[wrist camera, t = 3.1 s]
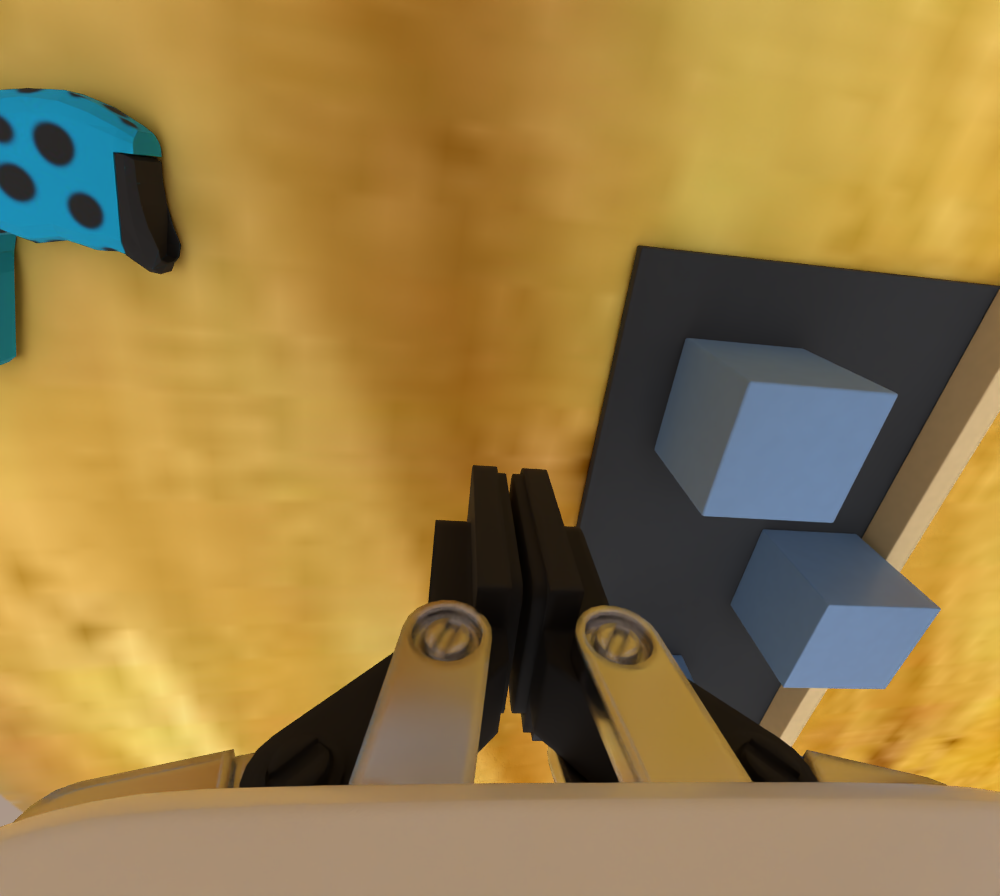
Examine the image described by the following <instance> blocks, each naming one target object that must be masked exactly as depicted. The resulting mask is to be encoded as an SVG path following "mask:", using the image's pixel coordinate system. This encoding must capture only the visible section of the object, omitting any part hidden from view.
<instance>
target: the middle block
mask: <svg viewBox="0 0 1000 896" xmlns="http://www.w3.org/2000/svg"><path fill="white" fill-rule="evenodd" d="M731 606H732V608H733V610H734V611H735V613H736V614H737V616H738V617H739V619H740V620H741V622H742V624H743V625H744V627H745V628H746V630H747V631H748V633H749V635H750V636H751V638H752V639H753V641H754V642H755V644H756V646H757V647H758V649H759V650H760V652H761V653H762V655H763V656H764V658H765V660H766V661H767V663H768V664H769V666H770V667H771V669H772V671H773V672H774V674H775V675H776V677H777V678H778V680H779V682H780V683H781V685H782V686H783V687H784V688H845V689H885V688H886V687H887V685H888V684H889V683H890V681H891V680H892V678H893V677H894V675H895V674H896V673H897V671H898V670H899V668H900V667H901V665H902V664H903V663H904V661H905V660H906V658H907V657H908V655H909V654H910V653H911V651H912V650H913V648H914V647H915V645H916V644H917V643H918V641H919V640H920V638H921V637H922V635H923V634H924V633H925V631H926V630H927V628H928V627H929V625H930V624H931V623H932V621H933V620H934V618H935V617H936V615H937V614H938V613H939V611H940V610H941V609H940V608H939V607H938V606H937V605H936V604H935V603H934V602H933V601H931V600H930V599H929V598H928V597H927V596H926V595H925V594H923V593H922V592H921V591H920V590H919V589H918V588H917V587H916V586H914V585H913V584H912V583H911V582H910V581H909V580H908V579H907V578H905V577H904V576H903V575H902V574H901V573H900V572H899V571H897V570H896V569H895V568H894V567H893V566H892V565H891V564H890V563H888V562H887V561H886V560H885V559H884V558H883V557H882V556H880V555H879V554H878V553H877V552H876V551H875V550H874V549H873V548H871V547H870V546H869V545H868V544H867V543H866V542H865V541H863V540H862V539H861V538H860V537H859V536H858V535H857V534H846V533H826V532H807V531H787V530H767V529H763V530H762V532H761V535H760V537H759V539H758V542H757V544H756V546H755V549H754V551H753V553H752V556H751V558H750V560H749V562H748V565H747V567H746V569H745V572H744V574H743V576H742V579H741V581H740V583H739V586H738V588H737V590H736V592H735V595H734V597H733V599H732V602H731Z"/></svg>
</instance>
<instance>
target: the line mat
mask: <svg viewBox="0 0 1000 896" xmlns="http://www.w3.org/2000/svg"><path fill="white" fill-rule="evenodd" d="M686 338H694V339H705V340H715V341H726V342H737V343H748V344H758V345H769V346H780V347H791V348H801V349H805V350H807V351H809V352H811V353H813V354H815V355H817V356H819V357H821V358H824V359H826V360H828V361H830V362H832V363H834V364H836V365H838V366H840V367H842V368H845V369H847V370H849V371H851V372H853V373H855V374H857V375H859V376H861V377H864V378H866V379H868V380H870V381H872V382H874V383H876V384H878V385H880V386H882V387H885V388H887V389H889V390H891V391H893V392H895V393H897V394H898V396H897V398H896V400H895V402H894V404H893V406H892V408H891V410H890V412H889V414H888V416H887V418H886V420H885V422H884V424H883V426H882V428H881V430H880V432H879V434H878V436H877V438H876V440H875V442H874V444H873V446H872V448H871V449H870V451H869V453H868V455H867V457H866V459H865V461H864V463H863V465H862V467H861V469H860V471H859V473H858V475H857V477H856V479H855V481H854V483H853V485H852V487H851V489H850V491H849V493H848V495H847V497H846V499H845V501H844V502H843V504H842V506H841V508H840V510H839V512H838V514H837V516H836V518H835V520H834V522H832V523H826V522H807V521H788V520H769V519H750V518H731V517H712V516H703V515H701V513H700V512H699V511H698V509H697V508H696V506H695V505H694V504H693V502H692V501H691V500H690V498H689V497H688V495H687V494H686V493H685V491H684V490H683V489H682V487H681V486H680V484H679V483H678V482H677V480H676V479H675V478H674V476H673V475H672V473H671V472H670V471H669V469H668V468H667V466H666V465H665V464H664V462H663V461H662V460H661V458H660V457H659V455H658V454H657V453H656V451H655V445H656V441H657V438H658V434H659V431H660V427H661V424H662V420H663V417H664V413H665V410H666V406H667V403H668V399H669V395H670V392H671V388H672V385H673V381H674V378H675V374H676V371H677V367H678V364H679V360H680V357H681V353H682V349H683V346H684V342H685V339H686ZM999 411H1000V286H995V285H986V284H977V283H968V282H960V281H951V280H942V279H933V278H924V277H915V276H906V275H897V274H888V273H880V272H871V271H862V270H853V269H844V268H835V267H826V266H817V265H808V264H800V263H791V262H782V261H773V260H764V259H755V258H746V257H737V256H729V255H720V254H711V253H702V252H693V251H684V250H675V249H666V248H657V247H649V246H640V245H639V246H638V247H637V251H636V256H635V260H634V265H633V270H632V274H631V279H630V283H629V288H628V292H627V297H626V302H625V306H624V311H623V315H622V320H621V324H620V329H619V334H618V338H617V343H616V347H615V352H614V356H613V361H612V366H611V370H610V375H609V379H608V384H607V388H606V393H605V398H604V402H603V407H602V411H601V416H600V420H599V425H598V430H597V434H596V439H595V443H594V448H593V452H592V457H591V462H590V466H589V471H588V475H587V480H586V485H585V489H584V494H583V498H582V503H581V507H580V512H579V517H578V521H577V526H576V527H579V528H581V530H582V532H583V534H584V537H585V539H586V542H587V545H588V548H589V550H590V553H591V556H592V559H593V561H594V564H595V567H596V570H597V572H598V575H599V578H600V581H601V584H602V586H603V589H604V592H605V595H606V597H607V600H608V603H609V606H617V607H621V608H625V609H628V610H630V611H632V612H634V613H636V614H638V615H640V616H641V617H642V618H644V619H645V620H646V621H648V622H649V623H650V624H651V625H652V626H653V628H654V629H655V630H656V631H657V632H658V634H659V635H660V637H661V639H662V640H663V642H664V643H665V645H666V646H667V648H668V650H669V651H670V653H671V654H672V655H681V656H682V657H683V659H684V662H685V664H686V666H687V668H688V670H689V672H690V674H691V677H692V679H693V681H694V683H695V684H697V685H698V686H700V687H701V688H703V689H704V690H706V691H707V692H709V693H711V694H712V695H714V696H715V697H717V698H718V699H720V700H721V701H723V702H725V703H726V704H728V705H729V706H731V707H732V708H734V709H735V710H737V711H738V712H740V713H742V714H743V715H745V716H746V717H748V718H749V719H751V720H752V721H754V722H756V723H757V724H759V725H760V726H762V727H763V728H765V729H766V730H768V731H769V732H771V733H773V734H774V735H776V736H777V737H779V738H780V739H781V740H783V741H784V742H785V743H787V744H788V745H789V746H790V747H792V745H793V744H794V742H795V740H796V739H797V737H798V736H799V734H800V732H801V731H802V729H803V727H804V726H805V724H806V723H807V721H808V719H809V718H810V716H811V715H812V713H813V711H814V710H815V708H816V706H817V705H818V703H819V702H820V700H821V698H822V697H823V695H824V694H825V692H826V690H827V689H828V688H784V687H783V686H782V685H781V683H780V682H779V680H778V678H777V677H776V675H775V674H774V672H773V671H772V669H771V667H770V666H769V664H768V663H767V661H766V660H765V658H764V656H763V655H762V653H761V652H760V650H759V649H758V647H757V646H756V644H755V642H754V641H753V639H752V638H751V636H750V635H749V633H748V631H747V630H746V628H745V627H744V625H743V624H742V622H741V620H740V619H739V617H738V616H737V614H736V613H735V611H734V610H733V608H732V606H731V602H732V599H733V597H734V595H735V592H736V590H737V588H738V586H739V583H740V581H741V579H742V576H743V574H744V572H745V569H746V567H747V565H748V562H749V560H750V558H751V556H752V553H753V551H754V549H755V546H756V544H757V542H758V539H759V537H760V535H761V532H762V530H763V529H767V530H787V531H807V532H826V533H846V534H857V535H858V536H859V537H860V538H861V539H862V540H863V541H865V542H866V543H867V544H868V545H869V546H870V547H871V548H873V549H874V550H875V551H876V552H877V553H878V554H879V555H880V556H882V557H883V558H884V559H885V560H886V561H887V562H888V563H890V564H891V565H892V566H893V567H894V568H895V569H896V570H897V571H899V572H900V571H901V569H902V568H903V566H904V565H905V563H906V561H907V560H908V558H909V556H910V555H911V553H912V552H913V550H914V548H915V547H916V545H917V544H918V542H919V540H920V539H921V537H922V535H923V534H924V532H925V531H926V529H927V527H928V526H929V524H930V523H931V521H932V519H933V518H934V516H935V514H936V513H937V511H938V510H939V508H940V506H941V505H942V503H943V502H944V500H945V498H946V497H947V495H948V494H949V492H950V490H951V489H952V487H953V485H954V484H955V482H956V481H957V479H958V477H959V476H960V474H961V473H962V471H963V469H964V468H965V466H966V464H967V463H968V461H969V460H970V458H971V456H972V455H973V453H974V452H975V450H976V448H977V447H978V445H979V443H980V442H981V440H982V439H983V437H984V435H985V434H986V432H987V431H988V429H989V427H990V426H991V424H992V423H993V421H994V419H995V418H996V416H997V414H998V413H999ZM531 735H532V741H542V740H541V739H540V738H539V737H538V736H536V735H535V734H534V733H531Z"/></svg>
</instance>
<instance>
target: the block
mask: <svg viewBox="0 0 1000 896" xmlns="http://www.w3.org/2000/svg"><path fill="white" fill-rule="evenodd" d="M897 396H898V394H897V393H895V392H893V391H891V390H889V389H887V388H885V387H882V386H880V385H878V384H876V383H874V382H872V381H870V380H868V379H866V378H864V377H861V376H859V375H857V374H855V373H853V372H851V371H849V370H847V369H845V368H842V367H840V366H838V365H836V364H834V363H832V362H830V361H828V360H826V359H824V358H821V357H819V356H817V355H815V354H813V353H811V352H809V351H807V350H805V349H801V348H791V347H780V346H769V345H758V344H748V343H737V342H726V341H715V340H705V339H694V338H686V339H685V342H684V346H683V349H682V353H681V357H680V360H679V364H678V367H677V371H676V374H675V378H674V381H673V385H672V388H671V392H670V395H669V399H668V403H667V406H666V410H665V413H664V417H663V420H662V424H661V427H660V431H659V434H658V438H657V441H656V445H655V451H656V453H657V454H658V455H659V457H660V458H661V460H662V461H663V462H664V464H665V465H666V466H667V468H668V469H669V471H670V472H671V473H672V475H673V476H674V478H675V479H676V480H677V482H678V483H679V484H680V486H681V487H682V489H683V490H684V491H685V493H686V494H687V495H688V497H689V498H690V500H691V501H692V502H693V504H694V505H695V506H696V508H697V509H698V511H699V512H700V513H701V515H703V516H712V517H731V518H750V519H769V520H788V521H807V522H826V523H832V522H834V520H835V518H836V516H837V514H838V512H839V510H840V508H841V506H842V504H843V502H844V501H845V499H846V497H847V495H848V493H849V491H850V489H851V487H852V485H853V483H854V481H855V479H856V477H857V475H858V473H859V471H860V469H861V467H862V465H863V463H864V461H865V459H866V457H867V455H868V453H869V451H870V449H871V448H872V446H873V444H874V442H875V440H876V438H877V436H878V434H879V432H880V430H881V428H882V426H883V424H884V422H885V420H886V418H887V416H888V414H889V412H890V410H891V408H892V406H893V404H894V402H895V400H896V398H897Z"/></svg>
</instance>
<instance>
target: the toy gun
mask: <svg viewBox="0 0 1000 896" xmlns="http://www.w3.org/2000/svg"><path fill="white" fill-rule="evenodd" d="M146 155H147V156H146ZM149 156H157V157H162V154H161V147H160V144H159V141H158V140H157V138H156V137H155V135H154V134H153V133H152V132H151V131H150V130H148V129H147V128H146V127H145V126H143V125H141V124H140V123H138V122H137V121H135V120H134V119H132V118H130V117H129V116H127V115H126V114H124V113H122V112H121V111H119V110H118V109H116V108H114V107H112V106H110V105H107V104H105V103H103V102H100V101H98V100H95V99H93V98H91V97H88V96H86V95H83V94H79V93H75V92H71V91H66V90H54V89H32V88H24V89H7V90H0V365H2V364H4V363H7V362H9V361H11V360H12V359H13V358H14V357H16V325H15V282H14V249H15V242H16V236H19V237H22V238H24V239H27V240H30V241H33V242H35V243H43V242H54V241H64V240H68V241H71V242H74V243H77V244H81V245H84V246H87V247H90V248H93V249H96V250H105V251H119V252H121V253H124V254H126V255H127V256H128V257H130V258H131V259H132V260H134V261H135V262H137V263H138V264H140V265H141V266H142V267H144V268H145V269H147V270H148V271H150V272H154V273H158V274H163V273H166V272H170V271H172V269H173V266H174V263H175V262H176V261H177V259H178V258H179V256H180V249H181V244H180V242H179V239H178V236H177V234H176V231H175V229H174V226H173V223H172V220H171V216H170V213H169V209H168V206H167V201H166V196H165V190H164V185H163V175H162V163H161V162H160V161H159V160H158V159H157V158H155V157H149Z"/></svg>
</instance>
